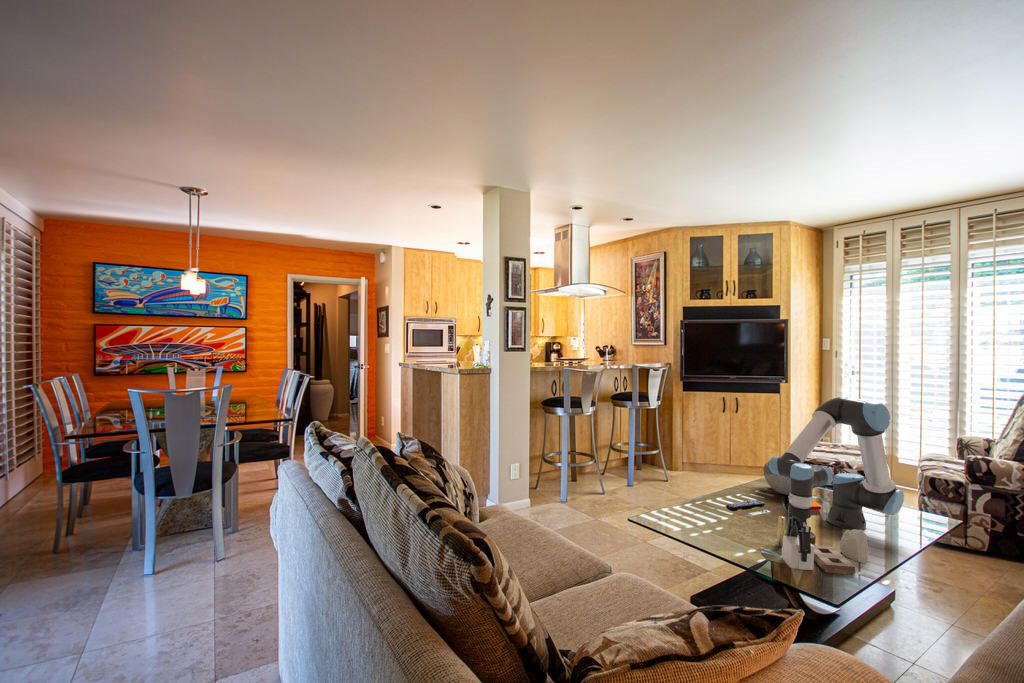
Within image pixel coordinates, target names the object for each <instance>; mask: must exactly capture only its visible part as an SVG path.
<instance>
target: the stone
mask: <svg viewBox="0 0 1024 683" xmlns="http://www.w3.org/2000/svg"><path fill="white" fill-rule="evenodd" d="M838 545H839V546H838V547H839V550H840V553H842V555H843V556H844V557H847V558H849V559H851V560H853V559H854V560H853V561H855V560H856V561H855V562H859V563H861V562H865V563H867V562H868V561H869V552H870V551H869V550H870V548H869V543H868V538H867V535H866V533H865V531H864V530H856V529H853V530H850V529H846V530H845V531H844V533H843V534H842V536H841V539H840V541H839V544H838ZM867 560H868V561H867ZM866 561H867V562H866Z"/></svg>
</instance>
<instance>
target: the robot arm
mask: <svg viewBox="0 0 1024 683" xmlns="http://www.w3.org/2000/svg"><path fill="white" fill-rule="evenodd" d="M811 416H812V418H811V419H810V421H808V423H807V424H806V425H805V426H804V428H803V429H802V430H801V432H800V433H799V434H798V435H797V437H796V438H795V440H793V442H792V443H791V444H790V445H789V447H788V448H787V449H786V451H784V453H783V454H782V456H777V455H774V456H772V457H771V458H770V460H769V461H770V462H769V469H770V471H771V472H772V473H774V474H776V475H779V476H783V477H786V478H790V495H787V496H788V501H789V503H788V520H787V522H788V523H787V528H786V536H792V537H799V545H800V551H798V552H799V559H798V569H797V570H804V571H806V570H807V554H811V544H812V542H811V533H812V527H811V526H808V522H807V520H808V519H810V518H812V506H813V489H815V488H820V487H826V486H827V485H829V484H831V483H832V504H831V506H830V509H829V510H828V512H827V516H826V521H827V522H828V524H831V525H833V526H835V527H838V528H840V529H841V528H842V529H846V530H850V531H852V530H853V529H856V530H863V531H864V530H865V529H866V528H867V520H866V518H865V515H864V513H863V512H864V511H863V508H865V509H869V510H871V511H875V512H878V513H880V514H885V515H889V516H895V515H897V514H898V513H899V512H900V510H901V508H902V507H903V504H904V500H905V493H904V491H903V490H901V489H900V488H897V486H896V482H895V481H894V480H892V479H891V477H890V471H889V466H888V461H887V457H886V450H885V446H884V439H883V434H884V433H885V431H886V430H887V429H888V428H889V426H890V420H891V416H890V411H889V408H888V407H887V406H886V404H884V403H882V402H879V401H876V400H875V401H874V400H872V399H871V400H870V399H868V400H867V399H866V400H865V399H859V398H854V397H853V398H852V397H846V396H840V397H834V398H832V399H829V400H827V401H825V402H824V403H822V404H820V405H819V406H818V407H817V408H815V410H814V411H813V412H812V415H811ZM839 424H841V425H846V426H850V428H851V431H852V433H853V434H854V435H855V436H857V441H858V446H859V452H860V456H861V461H862V462H861V463H862V466H863V472H864V475H865V476H863V475H862V474H857V473H849V472H847V473H845V472H844V473H843V472H842V473H837V474H835V475H834V474H833V473H832V470H831V469H830V468H829V467H828V466H824V465H811V464H808V463H804V462H805V461H806V460H807V458H808V457H809V456H810V454H811V453H812V452H813V451H814V450H815V448H816V447H817V446H818V444H819V443H820V442H821V440H822V439H823V438H824V437H825V435H827V432H828V431H829V430H830V429H834V428H835V427H836V425H839ZM832 481H833V482H832Z"/></svg>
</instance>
